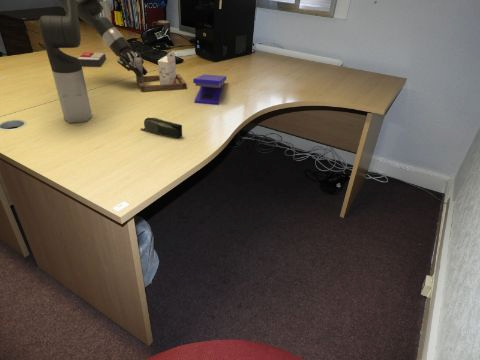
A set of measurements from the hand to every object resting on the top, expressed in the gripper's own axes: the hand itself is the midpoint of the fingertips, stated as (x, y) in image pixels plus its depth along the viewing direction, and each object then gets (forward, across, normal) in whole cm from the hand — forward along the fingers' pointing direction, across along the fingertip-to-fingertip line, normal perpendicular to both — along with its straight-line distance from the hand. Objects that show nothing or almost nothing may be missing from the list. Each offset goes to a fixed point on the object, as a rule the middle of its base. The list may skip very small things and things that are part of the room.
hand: (143, 74), depth 146 cm
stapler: (+24, +10, -16) cm, 30 cm away
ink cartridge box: (+9, +8, -1) cm, 12 cm away
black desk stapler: (+25, -35, -17) cm, 47 cm away
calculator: (-27, +18, +35) cm, 47 cm away
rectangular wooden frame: (+7, +6, 0) cm, 9 cm away
